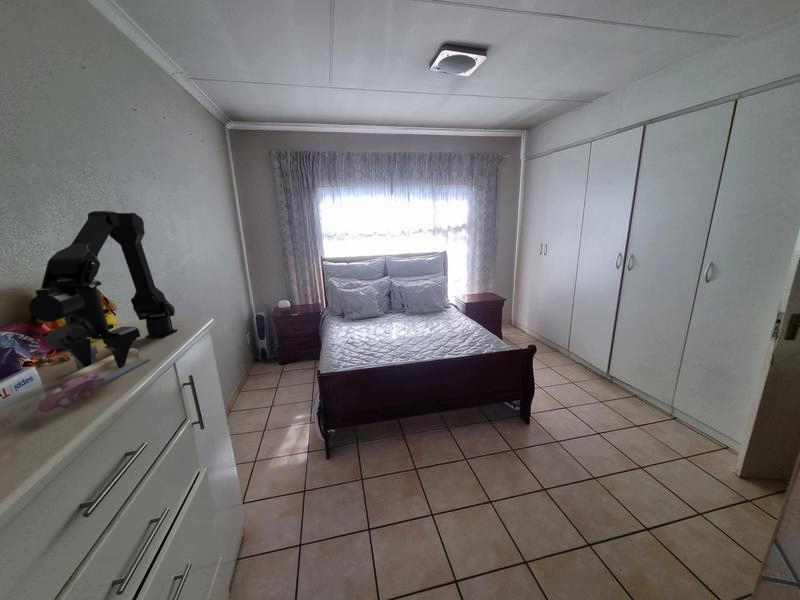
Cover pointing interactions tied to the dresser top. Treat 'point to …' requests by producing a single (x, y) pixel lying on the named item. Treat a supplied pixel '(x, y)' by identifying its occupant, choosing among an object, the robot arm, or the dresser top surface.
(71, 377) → the birch rail
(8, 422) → the dresser top surface
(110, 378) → the slate mat
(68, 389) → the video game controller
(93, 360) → the metal standards
